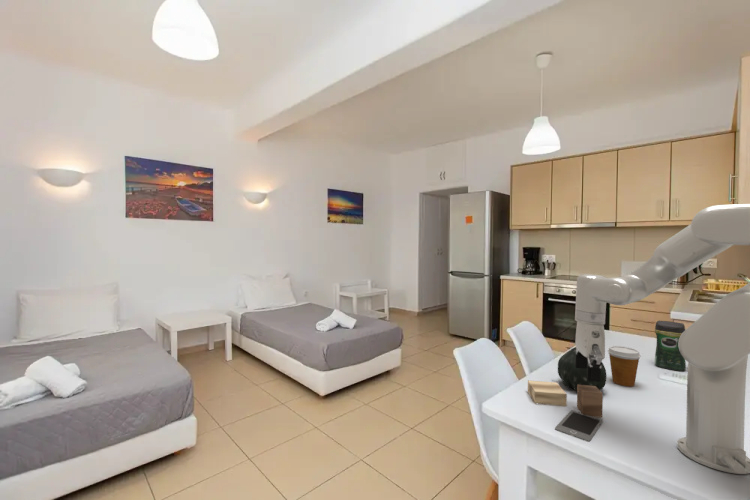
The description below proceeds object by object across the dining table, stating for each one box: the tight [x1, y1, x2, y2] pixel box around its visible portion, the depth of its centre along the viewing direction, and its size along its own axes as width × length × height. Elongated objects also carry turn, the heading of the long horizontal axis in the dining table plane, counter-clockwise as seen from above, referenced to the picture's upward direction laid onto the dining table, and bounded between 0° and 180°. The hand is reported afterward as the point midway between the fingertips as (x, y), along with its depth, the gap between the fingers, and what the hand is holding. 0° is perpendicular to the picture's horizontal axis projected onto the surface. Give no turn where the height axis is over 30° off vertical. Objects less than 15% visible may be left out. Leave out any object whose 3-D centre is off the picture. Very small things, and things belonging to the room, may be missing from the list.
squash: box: [557, 346, 607, 391], centre depth 118 cm, size 14×15×15 cm
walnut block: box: [576, 385, 604, 419], centre depth 101 cm, size 5×5×7 cm
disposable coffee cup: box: [607, 345, 641, 388], centre depth 122 cm, size 10×10×12 cm
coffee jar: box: [654, 320, 687, 372], centre depth 139 cm, size 10×8×19 cm
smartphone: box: [554, 409, 604, 443], centre depth 93 cm, size 15×8×1 cm, turn 135°
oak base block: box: [527, 380, 568, 407], centre depth 110 cm, size 9×9×4 cm
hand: (586, 374), depth 101 cm, fingers open, 9 cm apart
